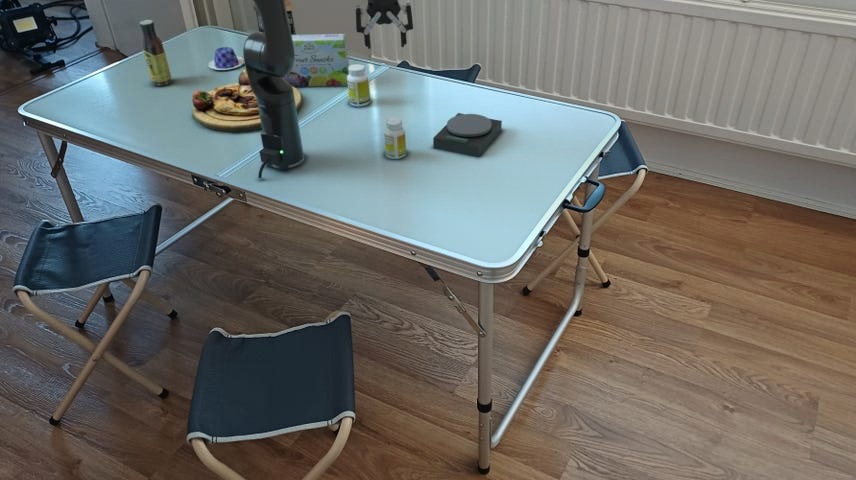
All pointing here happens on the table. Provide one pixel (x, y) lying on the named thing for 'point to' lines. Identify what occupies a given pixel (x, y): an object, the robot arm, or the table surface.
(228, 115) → the wooden plate
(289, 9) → the whiskey bottle
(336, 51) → the snack box
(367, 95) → the pill bottle
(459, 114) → the kitchen scale
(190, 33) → the table surface
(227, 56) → the pudding
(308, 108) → the table surface
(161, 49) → the sauce bottle
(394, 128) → the supplement bottle
